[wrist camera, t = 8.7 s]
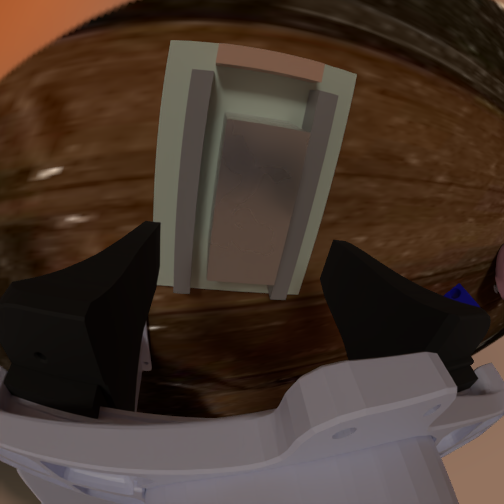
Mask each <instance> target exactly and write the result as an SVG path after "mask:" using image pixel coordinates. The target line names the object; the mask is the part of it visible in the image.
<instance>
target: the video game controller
mask: <svg viewBox="0 0 504 504" xmlns="http://www.w3.org/2000/svg"><path fill="white" fill-rule="evenodd" d="M495 273H496V275H495V280H496V286H495V285H494V291H495V292H496V293H498V292H499V293H500V295H501V297H502V299H504V244H503V245H502V246H501V248H500V250H499V252H498V255H497V260H496V268H495ZM497 291H498V292H497Z"/></svg>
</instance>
